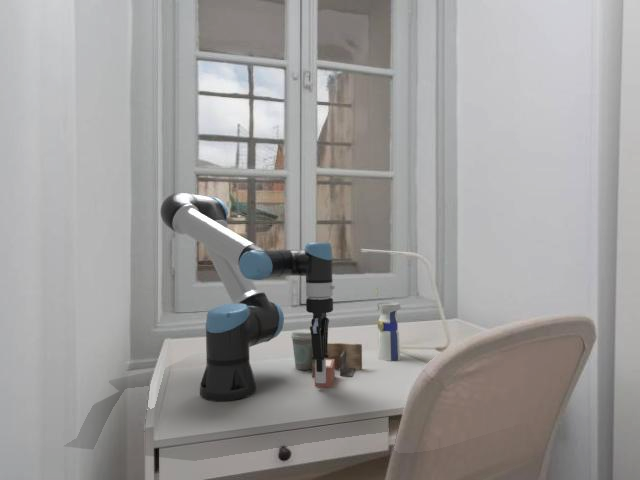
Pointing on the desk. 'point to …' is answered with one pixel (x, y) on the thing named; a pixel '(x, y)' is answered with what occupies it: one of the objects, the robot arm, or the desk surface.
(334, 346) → the shelf
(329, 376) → the red box
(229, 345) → the robot arm
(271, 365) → the desk surface
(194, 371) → the desk surface
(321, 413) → the desk surface
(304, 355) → the coffee cup
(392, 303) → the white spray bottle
